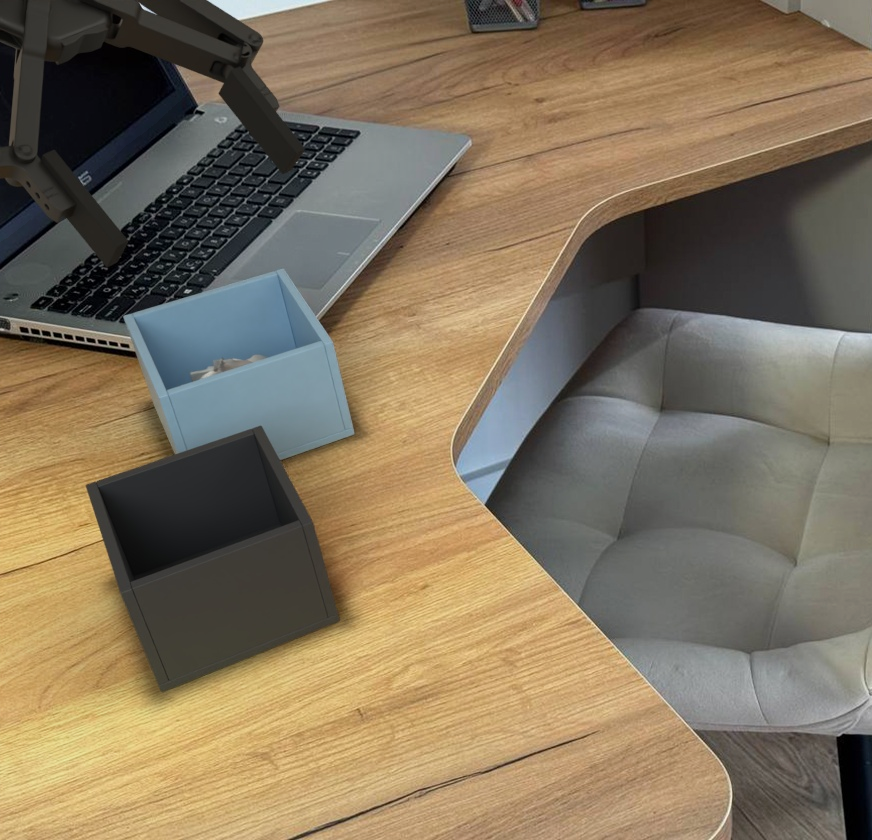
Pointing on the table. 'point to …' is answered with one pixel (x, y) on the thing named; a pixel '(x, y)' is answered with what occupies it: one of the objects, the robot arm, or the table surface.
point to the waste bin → (213, 556)
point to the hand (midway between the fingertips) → (211, 206)
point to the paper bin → (243, 367)
